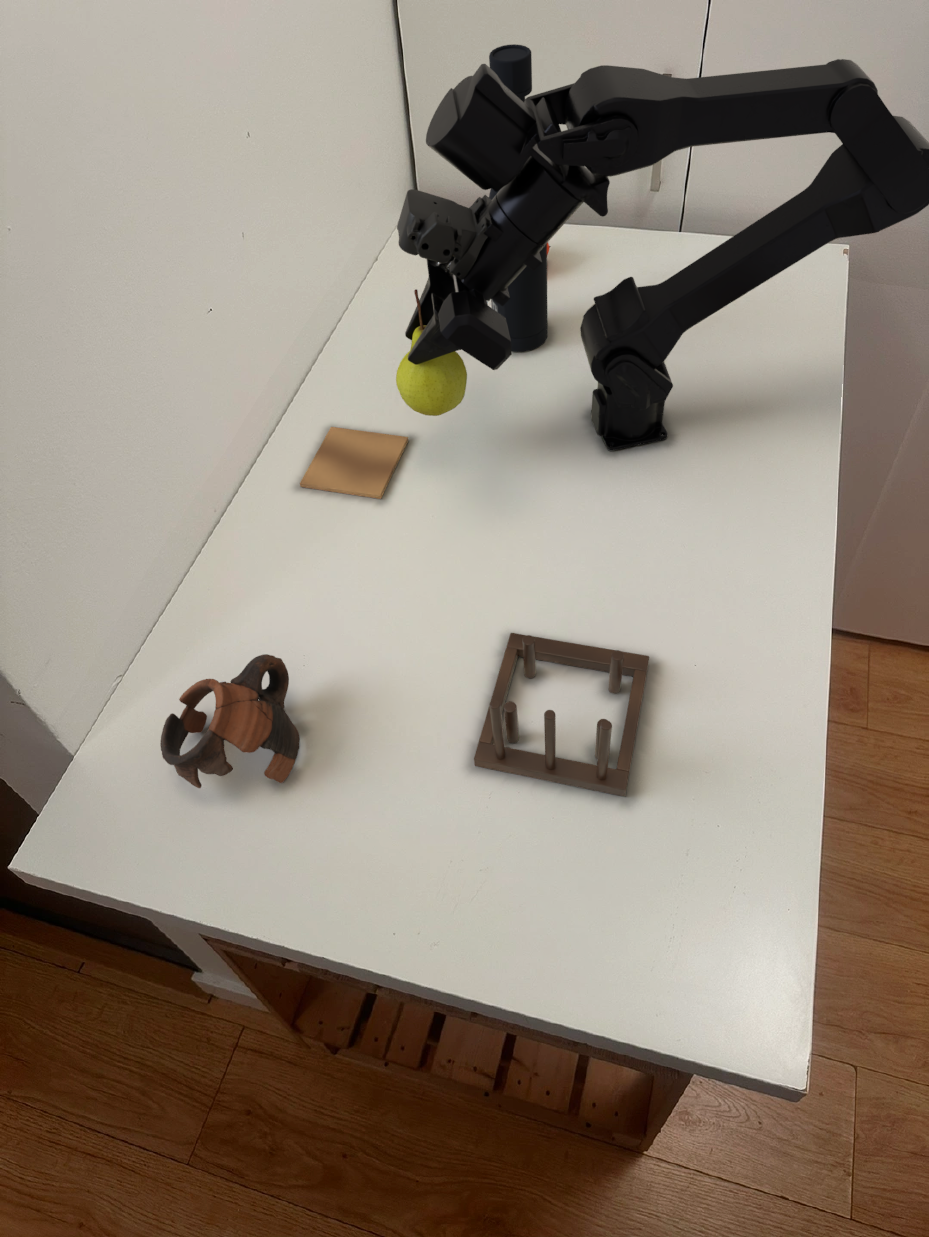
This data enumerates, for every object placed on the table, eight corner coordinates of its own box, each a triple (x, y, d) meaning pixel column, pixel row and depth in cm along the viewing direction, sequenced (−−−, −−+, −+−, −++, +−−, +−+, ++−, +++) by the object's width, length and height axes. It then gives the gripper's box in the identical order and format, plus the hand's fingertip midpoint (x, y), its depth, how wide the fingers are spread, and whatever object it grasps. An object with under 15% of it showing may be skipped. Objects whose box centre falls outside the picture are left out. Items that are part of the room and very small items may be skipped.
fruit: (469, 428, 84) (452, 314, 75) (400, 434, 85) (374, 322, 76) (472, 387, 88) (456, 275, 79) (406, 393, 89) (383, 283, 80)
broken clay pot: (275, 821, 68) (193, 785, 63) (213, 795, 75) (133, 760, 69) (339, 684, 72) (266, 638, 66) (275, 670, 78) (203, 628, 73)
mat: (331, 430, 95) (330, 426, 95) (408, 440, 93) (408, 436, 93) (300, 487, 90) (299, 483, 90) (381, 499, 88) (380, 495, 88)
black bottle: (557, 328, 103) (558, 43, 79) (530, 358, 100) (522, 72, 76) (511, 314, 105) (498, 34, 81) (483, 343, 102) (461, 61, 78)
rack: (511, 640, 76) (506, 574, 69) (648, 663, 73) (658, 598, 66) (474, 766, 69) (465, 707, 62) (625, 797, 66) (633, 740, 59)
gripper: (436, 108, 73) (336, 248, 82) (458, 220, 62) (338, 369, 71) (531, 187, 80) (428, 309, 89) (566, 302, 68) (444, 429, 77)
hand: (410, 349), depth 81 cm, fingers closed on fruit, 3 cm apart
